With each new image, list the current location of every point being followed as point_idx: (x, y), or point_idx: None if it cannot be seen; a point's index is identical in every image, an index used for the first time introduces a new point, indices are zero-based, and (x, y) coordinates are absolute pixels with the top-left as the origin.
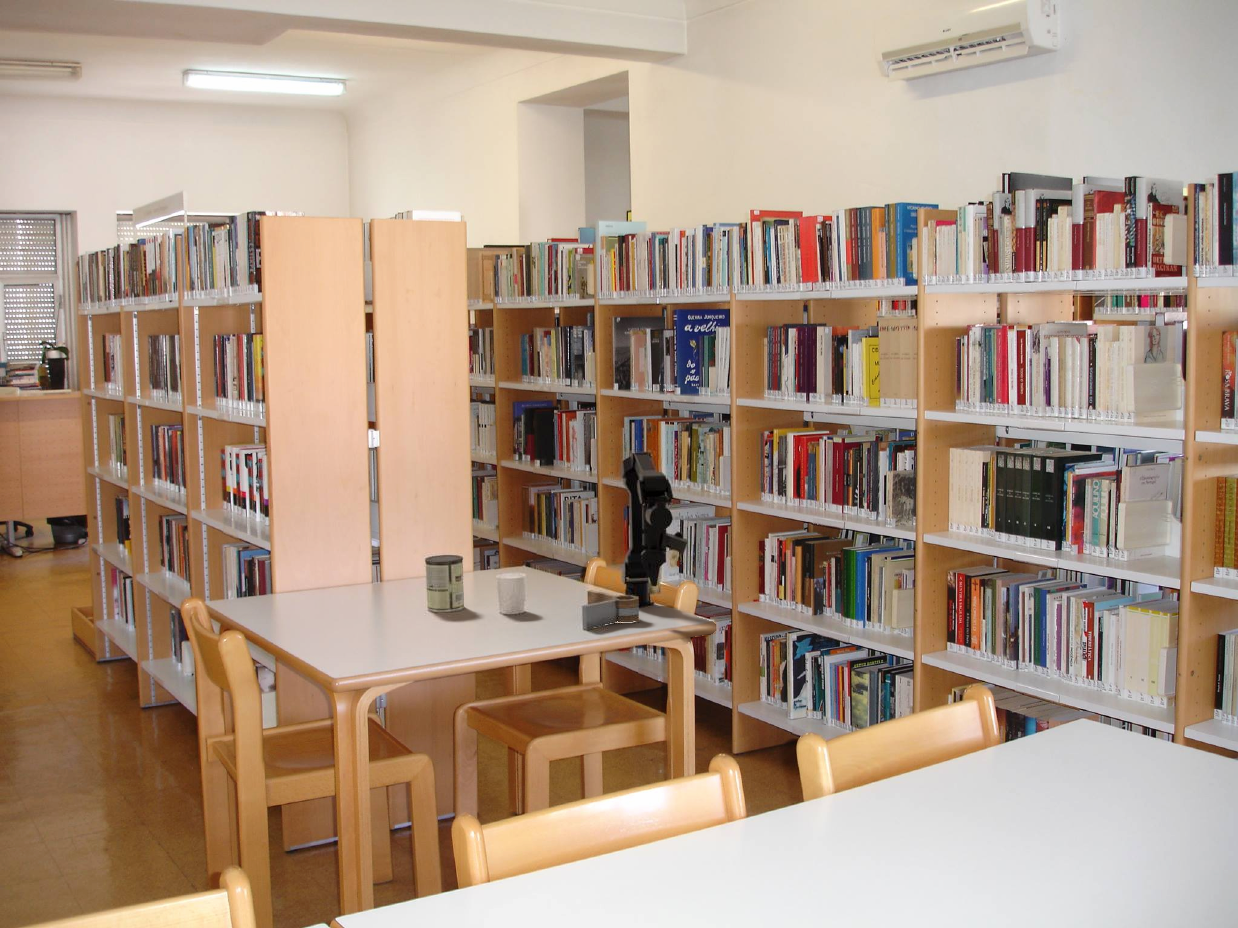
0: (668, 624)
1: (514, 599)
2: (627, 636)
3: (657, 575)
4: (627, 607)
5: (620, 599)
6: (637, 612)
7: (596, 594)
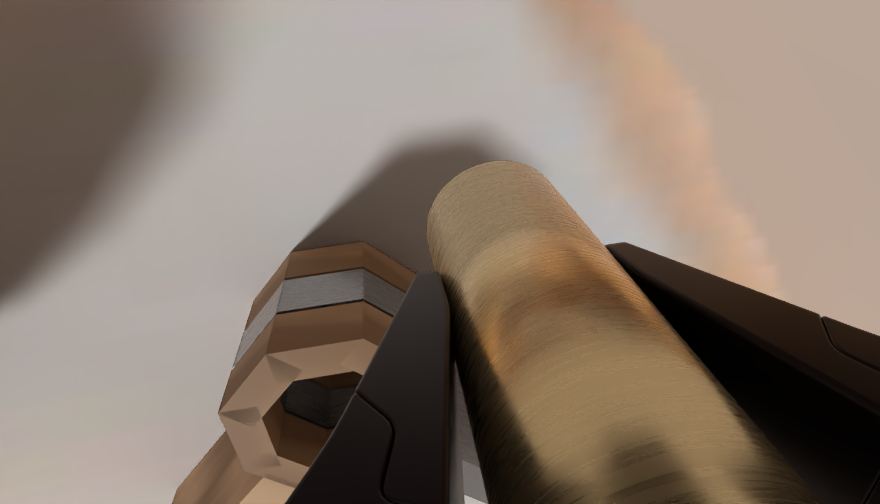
0: (419, 20)
1: None
2: (725, 232)
3: (792, 320)
4: None
5: (293, 439)
6: (371, 278)
7: None
